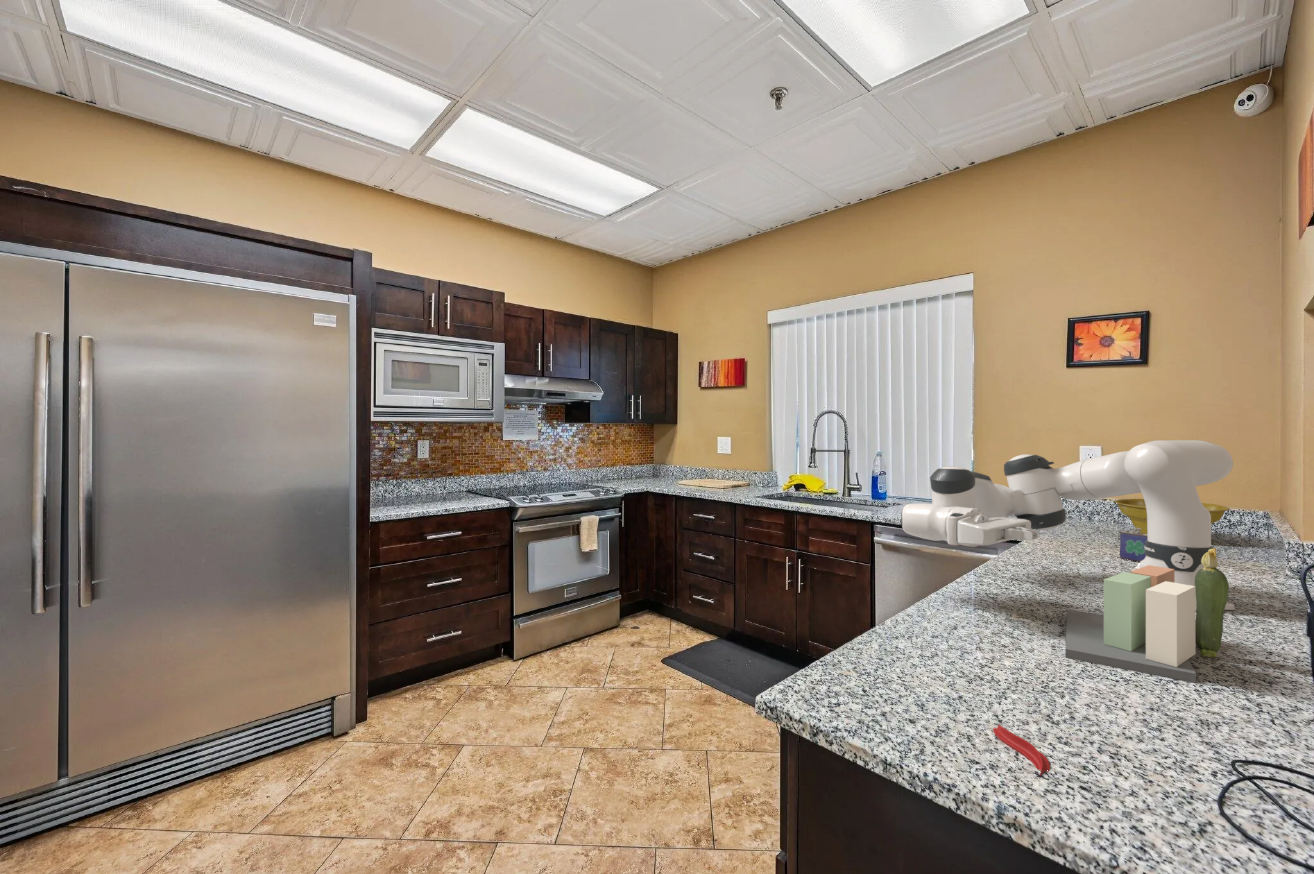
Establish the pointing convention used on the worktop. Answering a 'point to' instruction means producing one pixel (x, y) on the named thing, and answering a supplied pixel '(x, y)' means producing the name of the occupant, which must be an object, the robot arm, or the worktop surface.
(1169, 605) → the cream block
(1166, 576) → the terracotta block
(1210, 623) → the vegetable
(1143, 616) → the sage green block
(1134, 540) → the flask
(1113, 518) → the worktop surface
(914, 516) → the robot arm
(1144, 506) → the planter bowl
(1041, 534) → the worktop surface
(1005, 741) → the cayenne pepper
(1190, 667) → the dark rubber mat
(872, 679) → the worktop surface
